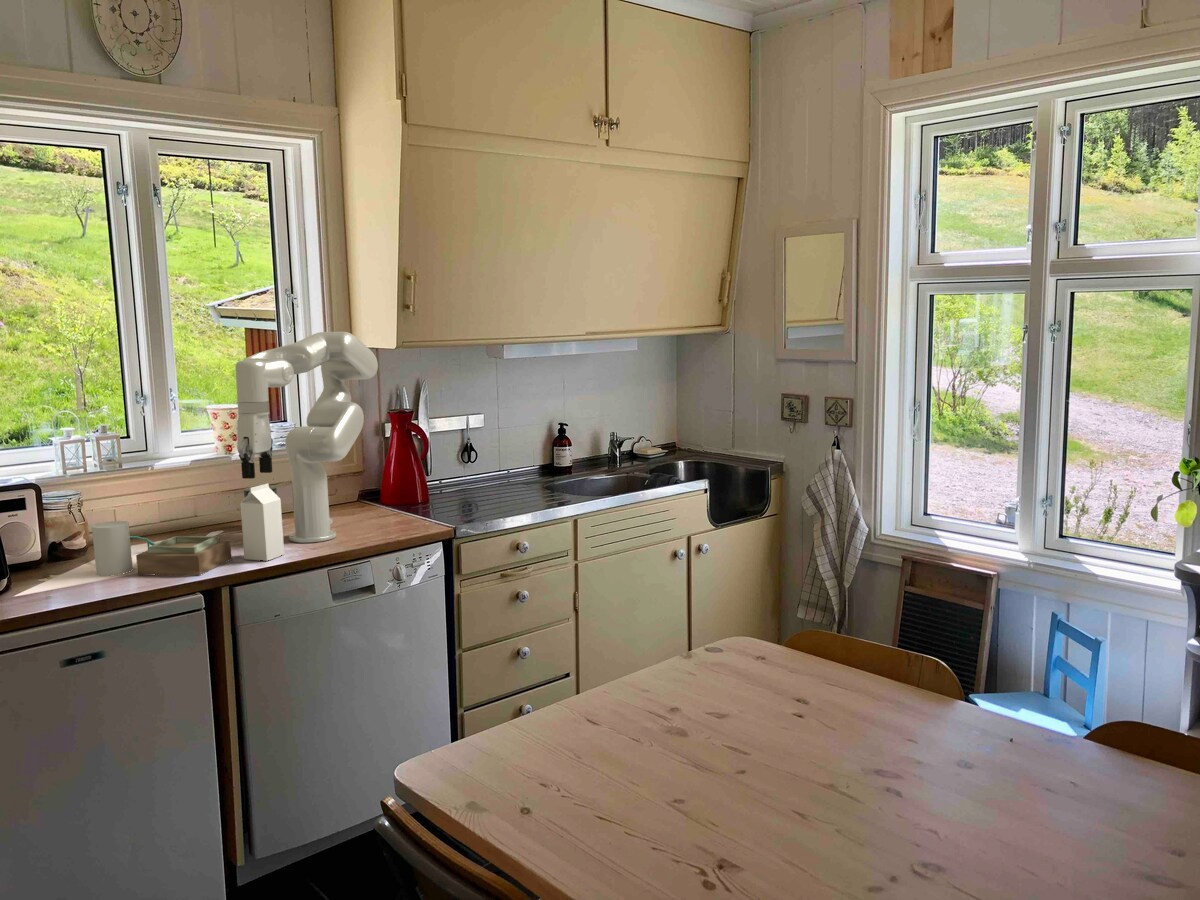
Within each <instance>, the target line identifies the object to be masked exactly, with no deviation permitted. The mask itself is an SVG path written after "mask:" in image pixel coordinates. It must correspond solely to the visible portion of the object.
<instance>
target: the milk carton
mask: <svg viewBox="0 0 1200 900" xmlns="http://www.w3.org/2000/svg"><path fill="white" fill-rule="evenodd" d="M269 484H270V483H269V482H268V483H265V484H260V485H257V486H256V487H255V486H251V487H252V488H250V492H249V493H248V495H247V496H246V497H244V498H243V499H242V500H241V502H240V504H239V505H240V516H241V530H242V532H241V533H242V544H243V545H242V546H243V559H244V560H249V561H260V560H263V561H262V562H268V560H269V561H271V560H274V559H276V558H278V557H282V556H284V555H285V545H284V532H283V531H284V530H283V518H282V516H283V515H282V501H281V498H280V497H279V496H278V495H276V494H275V493H274V492H273V491H272V490H271V489H270V488H269V486H270V485H269ZM281 555H282V556H281Z"/></svg>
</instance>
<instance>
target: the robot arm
mask: <svg viewBox="0 0 1200 900" xmlns="http://www.w3.org/2000/svg"><path fill="white" fill-rule="evenodd" d="M319 366H320V370H321V378H322V384H323V385H322V386H323V388H322V389H323V390H322V392H321V393H320V395H319V397H318V398H317V400H316V401H315V403H314V405H313V406H312V407H311V409H310V411H309V412H308V414H307V417H306V425H305V426H297V427H294V428H293V429H291V430H290V431H288V433H287V434H286V437H285V440H284V443H285V445H284V446H285V450H286V454H287V458H288V462H289V465H290V466H289V468H290V474H291V475H290V476H291V477H290V478H291V488H292V489H291V491H292V504H293V505H292V508H293V522H294V532H293V533H291V534H290V535H289V541H291V542H294V543H302V544H303V543H304V544H306V543H307V544H308V543H310V544H311V543H318V542H325V541H329V540H332V539H334V538H336V536H337V531H336V530H333V529H331V524H333V521H334V520H333V518H331V517H330V507H329V506H330V505H329V503H330V502H329V486H328V475H327V472H326V469H325V467H324V465H323V464H322V463H321V462H339V461H341V460H343V459H344V458H346V456H347V455H348V453H349V452H350V451H351V449H352V447H353V445H354V443H355V442H356V441H357V439H358V437H359V436H360V434H361V432H362V429H363V426H364V424H365V423H364V421H365V415H364V411H363V408H362V407H361V406H360V405H359V404H358V403H356V402H353V401H352V396H351V393H350V390H349V388H348V387H347V385H346V383H345V380H347V381H348V380H350V381H351V380H353V381H354V380H358V381H359V380H370V379H372V378H373V377H375V376H376V374H377V372H378V368H379V363H378V359H377V357H376V355H375V354H374V352H373V351H372V350H371V349H370V348H369V347H368V346H367V345H366V344H365V343H363V341H361V340H360V338H358V337H357V336H356V335H355V334H352V333H351V332H347V331H321V332H320V331H319V332H316V333H313V334H311V335H309V336H307V337H304V338H303V339H301V340H298V341H296V342H294V343H290V344H287V345H283V346H282V345H281V346H278V347H275V348H270V349H267V350H264V351H260V352H256V353H255V354H252V355H250V356H248V357H246V358H244V359H242V360H240V361H239V360H238V361H237V362H236V364H235V382H236V383H235V384H236V398H237V400H236V401H237V402H236V403H237V415H238V416H237V425H236V427H237V428H236V429H237V430H236V431H237V432H236V440H237V441H236V444H237V445H236V446H237V452H238V457H239V461H240V464H241V478H242V479H249V480H250V479H252V480H253V479H256V470H255V469H256V468H255V466H256V465H255V462H253V461H254V457H255V455H259V456H260V457H258V461H259V465H258V466H259V472H260V473H261V474H266V473H267V474H269V473H273V458H272V457H273V443H274V439H273V438H272V434H271V433H272V431H271V425H270V417H269V415H270V403H269V400H270V399H269V388H283V387H285V386H288V385H289V384H291V382H292V381H293V378H294V375H300V374H304V373H308V372H310V371H312V370H313V369H316V368H317V367H319Z"/></svg>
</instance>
